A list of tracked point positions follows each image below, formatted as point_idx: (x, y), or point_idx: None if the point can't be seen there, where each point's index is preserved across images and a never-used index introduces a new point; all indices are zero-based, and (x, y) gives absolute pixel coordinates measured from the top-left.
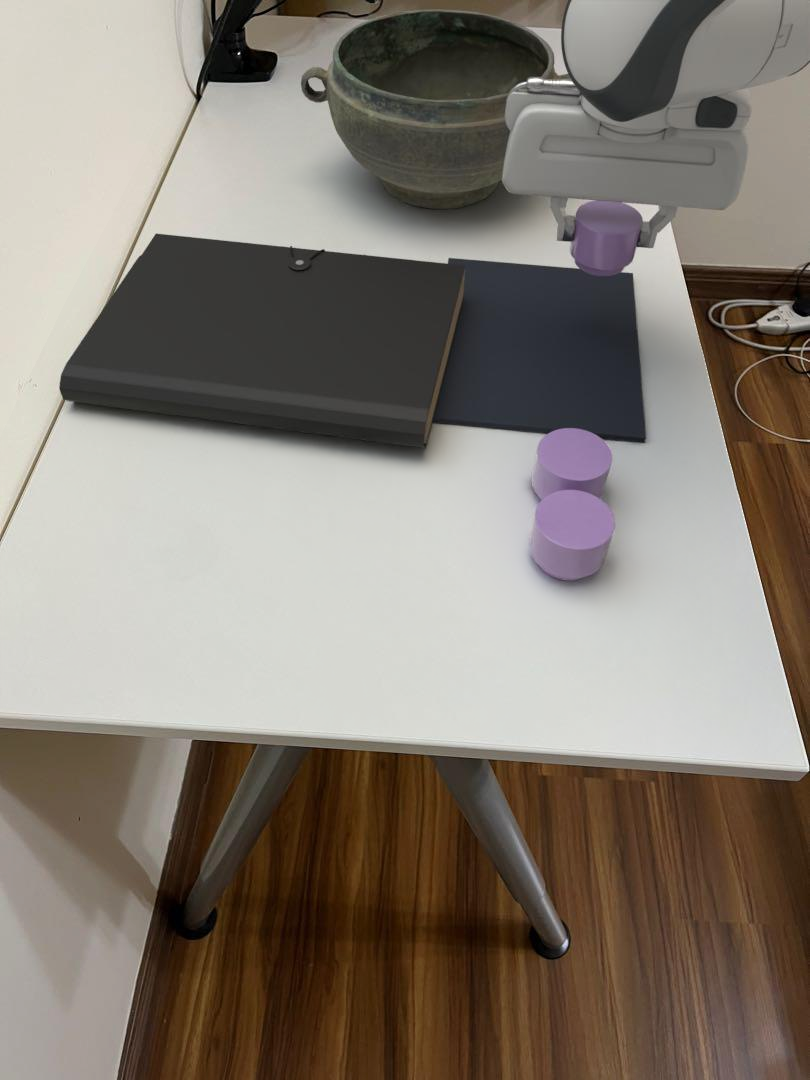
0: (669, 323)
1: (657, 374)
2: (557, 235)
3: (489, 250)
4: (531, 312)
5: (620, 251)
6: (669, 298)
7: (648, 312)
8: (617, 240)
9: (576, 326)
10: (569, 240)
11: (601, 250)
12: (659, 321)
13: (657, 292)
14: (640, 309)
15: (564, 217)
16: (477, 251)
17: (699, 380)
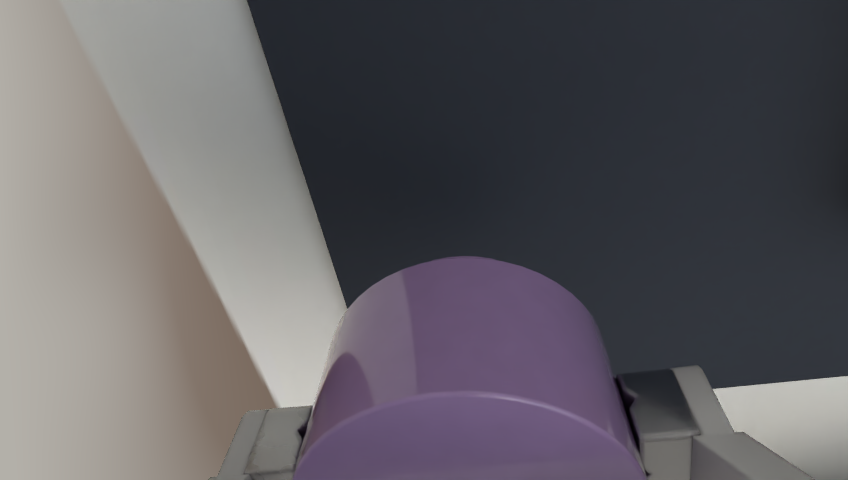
0: (253, 279)
1: (214, 53)
2: (707, 386)
3: (751, 425)
4: (633, 209)
5: (370, 340)
6: (281, 365)
7: (314, 306)
8: (389, 376)
9: (490, 184)
10: (634, 374)
11: (466, 320)
12: (278, 280)
13: (313, 378)
14: (336, 311)
15: (721, 478)
16: (785, 416)
17: (95, 65)
